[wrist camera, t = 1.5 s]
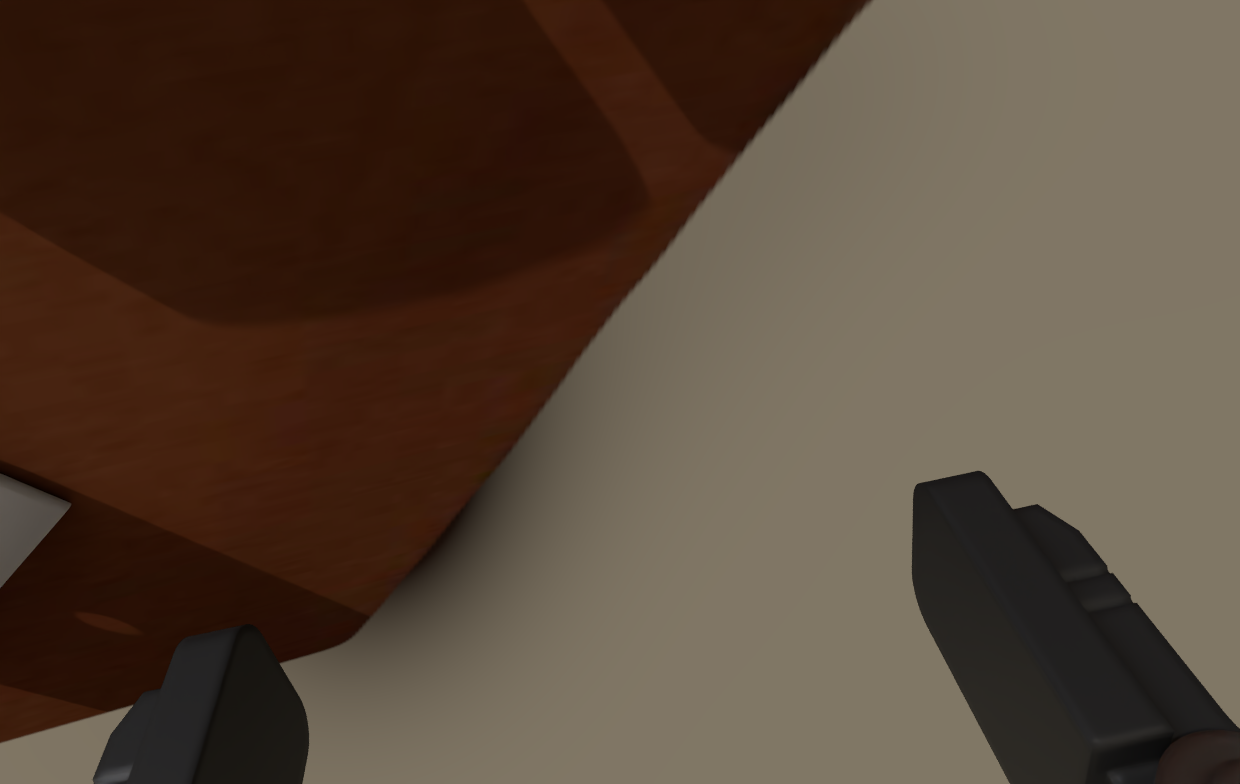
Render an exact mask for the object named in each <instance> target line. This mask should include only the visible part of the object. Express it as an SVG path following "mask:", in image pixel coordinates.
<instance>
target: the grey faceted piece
mask: <svg viewBox="0 0 1240 784" xmlns="http://www.w3.org/2000/svg"><path fill="white" fill-rule="evenodd" d="M70 506H71V503H69V502H67V501H65V500H62V499H60V498H57V497H55V496H53V495H50V494H48V493H46V492H43V491H41V490H38V489H36V488H34V487H31V486H29V485H27V484H24V483H22V482H19V481H17V480H15V479H12V478H10V477H8V476H5V475H3V474H1V473H0V588H1V587H2V585H3V584H4V583H5V582H6V581H7V580H8V579H9V577H10V576H11V575H12V574H13V573H14V572H15V570H16V569H17V568H18V567H19V566H20V565H21V564H22V562H23V561H24V560H25V559H26V558H27V557H28V555H29V554H30V553H31V552H32V551H33V550H34V549H35V547H36V546H37V545H38V544H39V543H40V542H41V540H42V539H43V538H44V537H45V536H46V535H47V534H48V532H49V531H50V530H51V529H52V528H53V527H54V526H55V524H56V523H57V522H58V521H59V520H60V519H61V517H62V516H63V515H64V514H65V513H66V512H67V510H68V509H69V508H70Z"/></svg>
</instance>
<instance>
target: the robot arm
mask: <svg viewBox="0 0 1240 784" xmlns="http://www.w3.org/2000/svg"><path fill="white" fill-rule="evenodd" d="M912 541H913V542H912V579H913V586H914V590H915V595H916V599H917V602H918V605H919V608H920V611H921V614H922V616H923V618H924V621H925V623H926V625H927V627H928V629H929V631H930V633H931V634H932V636H933V638H934V640H935V642H936V644H937V646H938V648H939V650H940V651H941V653H942V655H943V657H944V659H945V661H946V663H947V665H948V666H949V669H950V670H951V672H952V674H953V676H954V678H955V680H956V682H957V684H958V686H959V688H960V690H961V692H962V693H963V695H964V697H965V699H966V701H967V703H968V705H969V707H970V709H971V711H972V712H973V714H974V716H975V718H976V720H977V722H978V724H979V726H980V727H981V729H982V731H983V733H984V735H985V737H986V739H987V741H988V743H989V745H990V747H991V749H992V750H993V752H994V754H995V756H996V758H997V760H998V762H999V764H1000V766H1001V767H1002V769H1003V771H1004V773H1005V775H1006V777H1007V779H1008V781H1009V783H1010V784H1240V729H1239V728H1238V727H1237V726H1236V725H1235V724H1234V723H1233V722H1232V720H1231V719H1229V717H1228V716H1227V715H1226V714H1225V713H1224V712H1223V710H1222V709H1221V708H1220V706H1219V705H1218V704H1217V703H1216V701H1215V700H1214V699H1213V698H1212V696H1211V695H1210V694H1209V693H1208V691H1207V690H1206V689H1205V688H1204V686H1203V685H1202V684H1201V683H1200V682H1199V680H1198V679H1197V678H1196V676H1195V675H1194V674H1193V673H1192V671H1191V670H1190V669H1189V668H1188V667H1187V665H1186V664H1185V663H1184V661H1183V660H1182V659H1181V658H1180V656H1179V655H1178V654H1177V653H1176V651H1175V650H1174V649H1173V648H1172V646H1171V645H1170V644H1169V643H1168V641H1167V640H1166V639H1165V638H1164V636H1163V635H1162V634H1161V633H1160V632H1159V630H1158V629H1157V628H1156V626H1155V625H1154V624H1153V623H1152V621H1151V620H1150V619H1149V618H1148V616H1147V615H1146V614H1145V613H1144V612H1143V610H1142V609H1141V608H1140V607H1139V605H1138V604H1137V603H1133V602H1132V600H1131V595H1130V594H1129V593H1128V592H1127V590H1126V589H1125V588H1124V586H1123V585H1122V584H1121V583H1120V581H1119V580H1118V579H1117V578H1116V576H1115V575H1114V574H1113V573H1109V572H1108V570H1107V565H1106V564H1105V563H1104V561H1103V560H1102V559H1101V558H1100V556H1099V555H1098V554H1097V553H1096V551H1095V550H1094V549H1093V548H1092V546H1091V545H1090V544H1089V543H1088V541H1087V540H1086V539H1085V538H1084V536H1083V535H1082V534H1081V533H1080V531H1079V530H1077V529H1075V528H1074V527H1072V526H1071V525H1069V524H1068V523H1066V522H1064V521H1063V520H1061V519H1060V518H1058V517H1057V516H1055V515H1053V514H1052V513H1050V512H1049V511H1047V510H1046V509H1044V508H1042V507H1041V506H1039V505H1038V504H1036V505H1031V506H1027V507H1022V508H1018V509H1012V508H1011V506H1010V505H1009V504H1008V503H1007V501H1006V500H1005V498H1004V497H1003V496H1002V494H1001V493H1000V491H999V490H998V489H997V487H996V486H995V485H994V483H993V482H992V481H991V479H990V478H989V477H988V476H987V475H986V474H985V473H983V472H981V471H975V472H971V473H966V474H961V475H957V476H952V477H947V478H942V479H938V480H933V481H928V482H923V483H919V484H917V485H916V487H915V489H914V495H913V539H912ZM308 749H309V731H308V722H307V716H306V712H305V709H304V706H303V703H302V701H301V699H300V697H299V696H298V694H297V692H296V691H295V689H294V687H293V686H292V684H291V682H290V681H289V679H288V677H287V676H286V674H285V672H284V670H283V669H282V667H281V665H280V664H279V662H278V660H277V659H276V657H275V655H274V654H273V652H272V650H271V649H270V647H269V645H268V644H267V642H266V640H265V639H264V637H263V635H262V634H261V632H260V631H259V630H258V629H257V628H256V627H255V626H253V625H251V624H246V625H241V626H237V627H232V628H227V629H222V630H218V631H213V632H208V633H204V634H199V635H194V636H190V637H186V638H184V639H183V640H182V641H181V642H180V643H179V644H178V646H177V648H176V650H175V652H174V655H173V657H172V660H171V663H170V665H169V668H168V671H167V674H166V676H165V679H164V682H163V685H162V687H161V689H157V690H152V691H147V692H144V693H143V694H142V695H141V696H140V698H139V699H138V700H137V702H136V703H135V704H134V705H133V707H132V708H131V709H130V711H129V712H128V713H127V714H126V716H125V717H124V718H123V719H122V721H121V722H120V723H119V725H118V726H117V727H116V729H115V730H114V731H113V732H112V734H111V735H110V738H109V740H108V743H107V745H106V748H105V750H104V753H103V755H102V757H101V760H100V762H99V765H98V767H97V770H96V772H95V775H94V777H93V782H94V784H302V782H303V777H304V772H305V766H306V761H307V756H308Z"/></svg>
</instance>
